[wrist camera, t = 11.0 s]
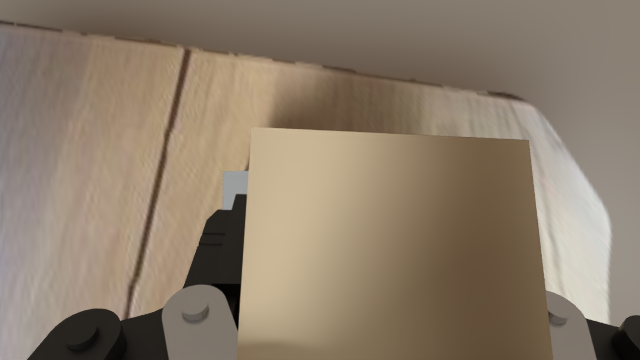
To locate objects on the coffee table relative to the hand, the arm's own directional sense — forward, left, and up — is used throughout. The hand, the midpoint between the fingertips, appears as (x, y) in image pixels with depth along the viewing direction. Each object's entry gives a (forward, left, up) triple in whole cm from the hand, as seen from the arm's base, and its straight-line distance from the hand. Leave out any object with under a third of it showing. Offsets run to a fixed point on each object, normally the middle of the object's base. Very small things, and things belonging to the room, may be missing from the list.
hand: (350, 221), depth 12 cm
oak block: (0, -2, -5) cm, 5 cm away
